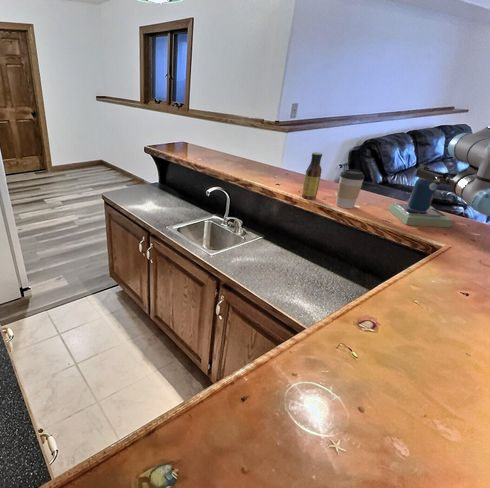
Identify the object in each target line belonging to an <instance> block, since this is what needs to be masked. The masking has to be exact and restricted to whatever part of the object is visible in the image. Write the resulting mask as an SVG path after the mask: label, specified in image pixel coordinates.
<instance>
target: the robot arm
mask: <svg viewBox="0 0 490 488" xmlns="http://www.w3.org/2000/svg"><path fill="white" fill-rule="evenodd" d="M447 151H448V154H449V156H450V157H451V158H453V159H455V160H456V161H457V162H461V163H465V164H468V165H471V166H473V167H475V168H478V170H477V169H475V168H473V167H471V166H467V169H466V171H463V172H459V173H455V172H450V171H447V172H442V171H438V170H434V169H431V168H430V167H428V166H427V165H426V164H424V163H420V164H419V167H418V168H417V169H416V171H415V176H414V177H416V178H418V179H419V178H422V179H425V180H428V181H431V182H433V183H435V184H437V185H438V186H439V185H441V184H444V185H446V186H447V185H448V186H449V188H450V191H451V192H452V194H454V195H455V196H457V197H458V198H459V199H460V200H462V201H464V202H465V203H466V204H467V205H468V206H470V207H471V208H472V210H474V211H476V212H477V213H479V214H481V215H483V216H487V217H490V125H488V126H486V127H484V128H482V129H479V130H477V131H475V132H463V133H460V134H457V135H455V136H454V137H453V138H452V139H451V140H450V141H449V143H448V146H447Z"/></svg>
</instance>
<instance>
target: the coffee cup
mask: <svg viewBox="0 0 490 488" xmlns="http://www.w3.org/2000/svg"><path fill="white" fill-rule="evenodd" d="M364 180H365V174H364V173H363V171H362V170H360V169H357V168H353V169H344V170H343V171H342V172H340V175H339V181H338V187H337V191H336V201H335V206H336V205H337V207H338V206H339V207H338V208H341V207H342V209H346V208H351V209H353V208H354V207H355V204H356V201H357V199H358V197H359V194H360V192H361V189H362V186H363V182H364Z"/></svg>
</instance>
